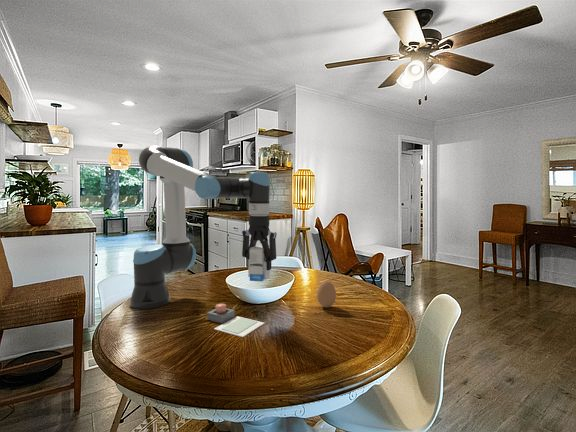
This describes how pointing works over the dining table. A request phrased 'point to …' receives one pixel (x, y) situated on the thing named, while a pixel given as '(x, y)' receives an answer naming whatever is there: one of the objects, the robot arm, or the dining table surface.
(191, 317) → the dining table surface
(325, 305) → the egg
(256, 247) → the ink box
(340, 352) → the dining table surface
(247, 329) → the sheet
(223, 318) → the button housing
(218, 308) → the button
